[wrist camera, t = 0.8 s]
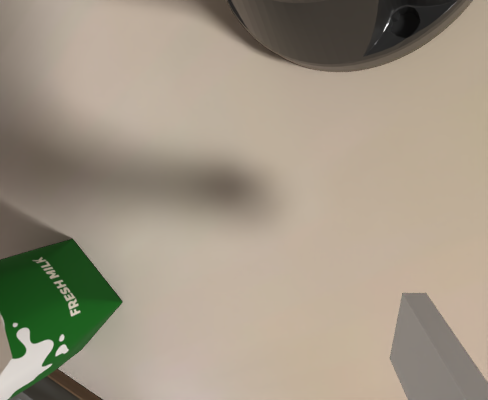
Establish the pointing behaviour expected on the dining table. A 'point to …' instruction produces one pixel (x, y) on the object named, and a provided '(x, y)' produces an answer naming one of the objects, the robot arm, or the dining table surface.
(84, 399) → the dark gray tray
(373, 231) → the dining table surface
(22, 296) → the soya milk
